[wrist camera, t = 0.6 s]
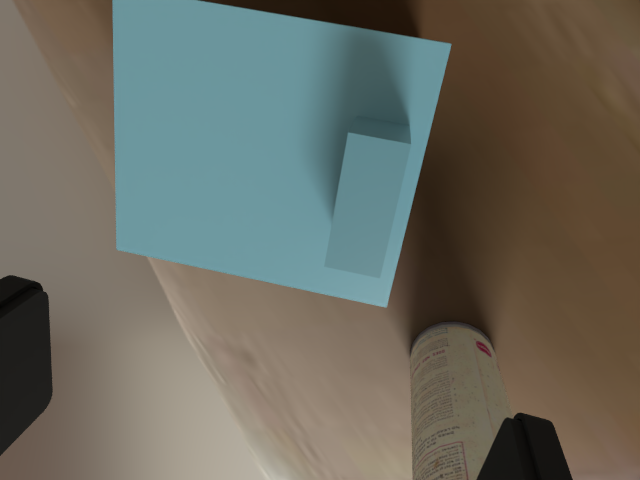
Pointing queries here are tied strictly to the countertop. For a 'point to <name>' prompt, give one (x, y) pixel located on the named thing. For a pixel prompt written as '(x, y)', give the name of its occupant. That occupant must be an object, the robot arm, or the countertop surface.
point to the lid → (269, 142)
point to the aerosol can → (454, 401)
